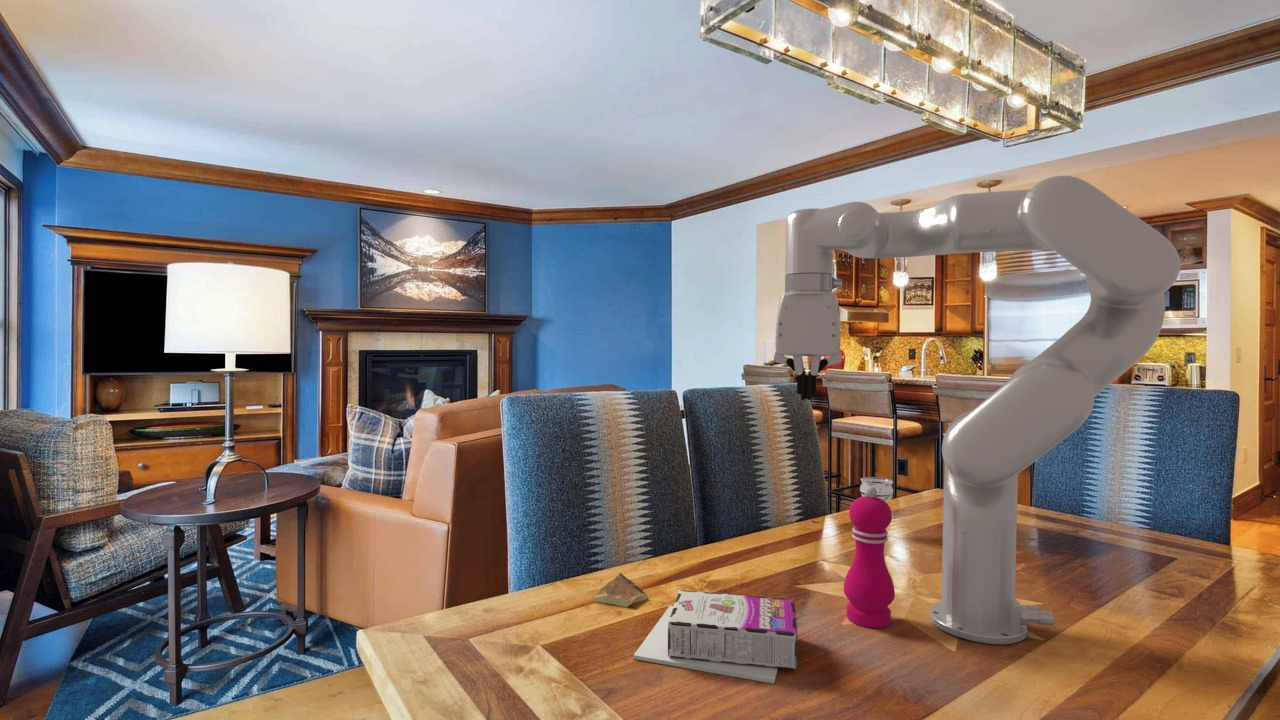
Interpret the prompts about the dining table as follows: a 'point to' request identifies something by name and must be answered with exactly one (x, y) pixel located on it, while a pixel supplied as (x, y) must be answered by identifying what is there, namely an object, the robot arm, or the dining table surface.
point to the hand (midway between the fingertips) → (806, 399)
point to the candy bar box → (733, 629)
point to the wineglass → (878, 487)
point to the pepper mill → (869, 563)
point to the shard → (620, 592)
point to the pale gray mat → (658, 653)
